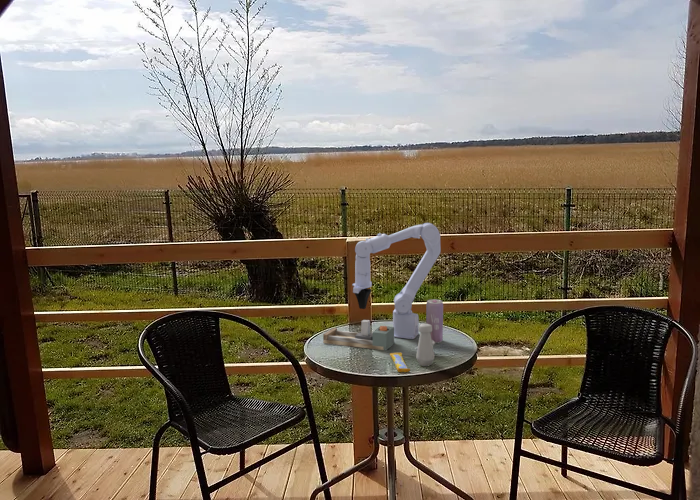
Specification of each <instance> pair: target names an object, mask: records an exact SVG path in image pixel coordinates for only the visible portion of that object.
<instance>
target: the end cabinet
mask: <svg viewBox="0 0 700 500" xmlns="http://www.w3.org/2000/svg"><path fill="white" fill-rule="evenodd" d="M386 326H387V325H386ZM372 333H373V346H376V347H377V346H381V347H383V350H381V349H380V350H379V349H377V350H379V351H387V350H388V349H390V348H391V347H392V346H393V345H394V344H395V337H394V327H393V326H387V331H380V326H378V327H377V328H376V329H375V330H373V331H372ZM372 350H375V349H374V348H373V349H372Z"/></svg>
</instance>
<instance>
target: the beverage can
mask: <svg viewBox="0 0 700 500" xmlns="http://www.w3.org/2000/svg"><path fill="white" fill-rule="evenodd" d="M425 310H426V311H425V312H426V314H425V315H426V318H425V319H426V320H425V322H426V323H425V324H430V325H431V326H432V332H430V334H431V340H433V341H434V342H435V344H441V343H442V342H443V338H444V337H443V333H444V303H443V300H440V299H435V298H433V299H428V300H426V309H425Z"/></svg>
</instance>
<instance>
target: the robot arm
mask: <svg viewBox="0 0 700 500" xmlns="http://www.w3.org/2000/svg"><path fill="white" fill-rule="evenodd" d="M410 238H413V239H422V240H423V243H424V246H425V248H426V251H425V253H424V254H423V256H422V258H421V259H420V261H419V262H418V264H417V266H416V268H415V269H414V270H413V272H412V274H411V275H410V278H409V279H408V281H407V282H406V284H405V285H404V287H403V288H402V289H401V290H400V292H399V293H397V294H396V295H395V296H394V298H393V304H394V310H392V327H394V338H402V339H409V340H414V339H415V338H416V337H418V335H420V332H419V325H420V323H419V321H420V320H419V314H418V313H414V312H413V310H412V308H413V307H412V305H413V301H414V300H415V299H416V298H415V297H416V294H417V292H418V291H419V289H420V288H421V286H422V285H423V282H424V281H425V280H426V277H427V276H428V274H429V273H430V271H431V270H432V268H433V266H434V264H435V263H436V261H437V259H439V256H440V255H441V250H442V249H441V234H440V231H439V229H438V227H437V226H436V225H434V223H431V222H424V223H421V224H415V225H412V226H409V227H406V228H404V229H403V230H400V231H397V232H395V233H391V234H389V235H388V234H387V233H381V232H380V233H377V235H376V236H373V237H370V238H368V237H367V238H365V239H364V240H361V241H360V240H359V241H358V242H357V243H356V245H355V248H354V252H355V261H354V262H355V263H354V264H355V265H354V266H355V267H354V268H355V270H354V272H355V273H354V277H355V278H354V280H355V281H354V283H352V293H353V294H354V295H355V298H356V300H357V304H358V308H359V309H361V310H362V309H363V310H365V309H367V304H368V300H369V297H370V295H371V293H372V289H370V288H372V285H373V283H372V281H371V260H370V259H371V254H376V253H379V252H381V251H384V250H387V249H390V246H391V245H392V244H394V243H397V242H401V241H404V240H407V239H410Z"/></svg>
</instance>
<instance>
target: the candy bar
mask: <svg viewBox="0 0 700 500" xmlns="http://www.w3.org/2000/svg"><path fill="white" fill-rule="evenodd" d="M389 356H390V357H391V361H392V362H393V364H394V366H395V368H396V370H397V373H399V372H404V373H409V372H408V371H411V368H408V366H407V364H406V361H405V360H404V358H403V352H391V353H389Z"/></svg>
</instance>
